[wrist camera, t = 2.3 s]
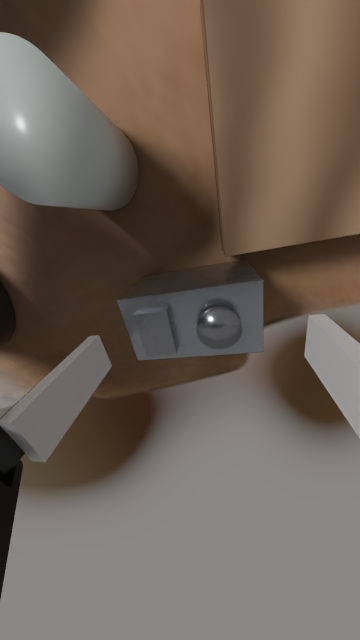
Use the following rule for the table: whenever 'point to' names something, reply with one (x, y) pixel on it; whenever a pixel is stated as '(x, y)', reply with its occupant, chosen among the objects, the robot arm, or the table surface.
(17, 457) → the robot arm
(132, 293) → the housing
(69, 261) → the table surface
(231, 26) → the stand
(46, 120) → the pale grey pebble
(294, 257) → the table surface
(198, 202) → the table surface
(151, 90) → the table surface
